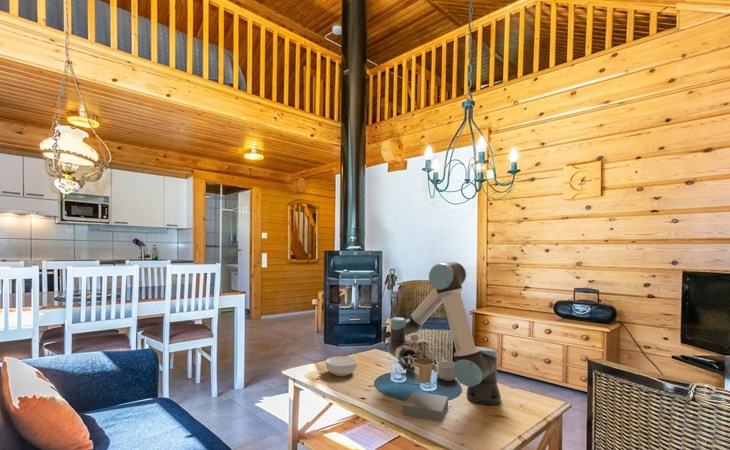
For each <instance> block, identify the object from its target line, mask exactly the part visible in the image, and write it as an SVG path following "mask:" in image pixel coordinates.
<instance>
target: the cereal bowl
mask: <svg viewBox="0 0 730 450" xmlns="http://www.w3.org/2000/svg"><path fill="white" fill-rule="evenodd" d="M325 366H326V369H327V370H328V372H330V373H331V374H333V375H334V376H337V377H345V376H349V375H350V374H352V373H353V372H354V371H356V369H357V366H358V361H357V359H355V358H354V357H351V356H332V357H330V358H327V359H326V360H325Z"/></svg>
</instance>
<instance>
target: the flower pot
mask: <svg viewBox="0 0 730 450" xmlns="http://www.w3.org/2000/svg"><path fill="white" fill-rule="evenodd" d="M431 359H432V358H431ZM431 359H428V358H415V359H413V360H412V362H413V364H414V365H415V366H417V367H418V368H419V375H417V374H416V373H414V377H415V382H417V383H419V384H429V383H430V382H431V378H432V372H433V370H432V367H433V364H434V361H433V360H434V359H433V360H431Z"/></svg>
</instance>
